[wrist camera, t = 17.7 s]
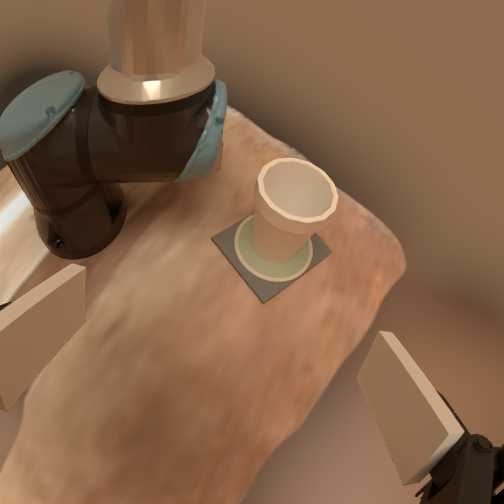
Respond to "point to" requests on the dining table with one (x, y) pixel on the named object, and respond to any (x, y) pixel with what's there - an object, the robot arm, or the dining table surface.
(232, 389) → the dining table surface
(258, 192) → the foam cup
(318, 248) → the square coaster
